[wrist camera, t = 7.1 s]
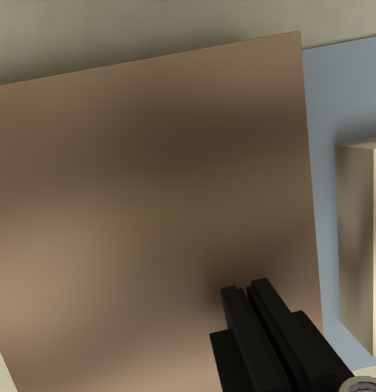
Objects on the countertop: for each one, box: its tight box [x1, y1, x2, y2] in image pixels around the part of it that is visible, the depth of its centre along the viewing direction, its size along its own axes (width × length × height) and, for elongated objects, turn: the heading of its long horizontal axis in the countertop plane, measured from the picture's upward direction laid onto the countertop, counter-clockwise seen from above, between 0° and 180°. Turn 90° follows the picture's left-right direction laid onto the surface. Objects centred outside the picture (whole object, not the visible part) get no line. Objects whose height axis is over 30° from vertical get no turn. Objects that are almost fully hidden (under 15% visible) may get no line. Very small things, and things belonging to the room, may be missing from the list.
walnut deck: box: [0, 30, 324, 392], centre depth 13 cm, size 18×12×4 cm, turn 11°
